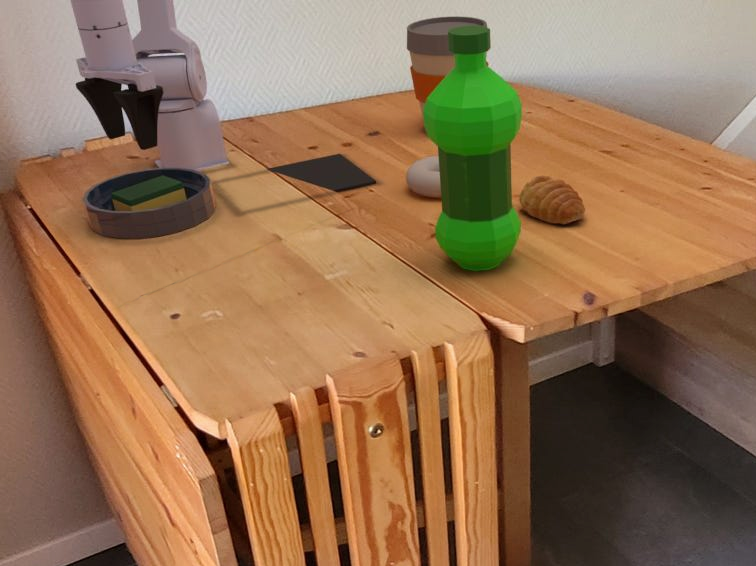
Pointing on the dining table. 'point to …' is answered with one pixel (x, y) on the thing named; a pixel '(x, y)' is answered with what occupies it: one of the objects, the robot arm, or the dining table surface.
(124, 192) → the sponge
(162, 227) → the bowl
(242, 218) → the dining table surface
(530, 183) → the pastry
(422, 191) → the donut
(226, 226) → the dining table surface
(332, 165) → the drying mat
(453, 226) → the plastic bottle
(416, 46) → the reusable coffee cup
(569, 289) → the dining table surface
